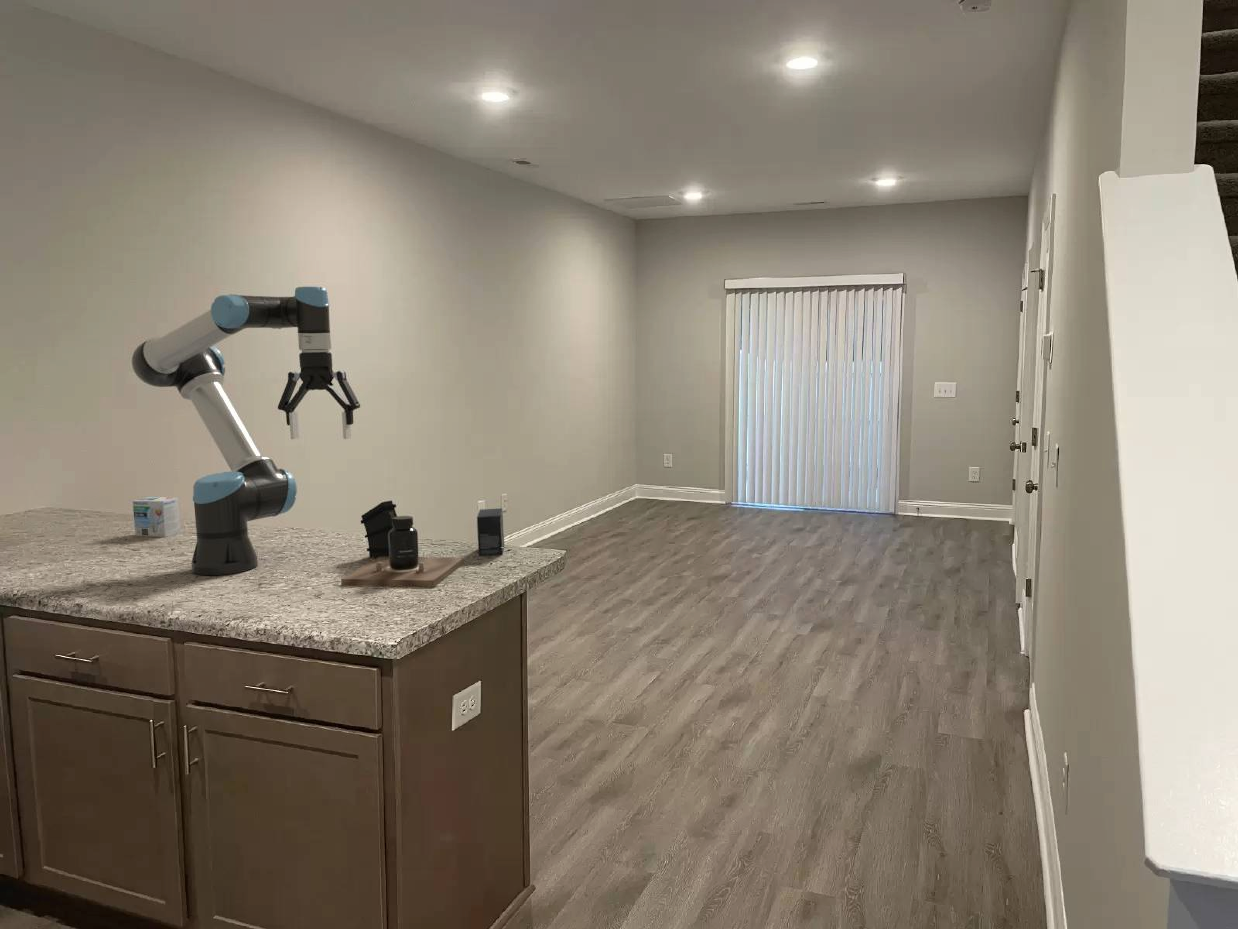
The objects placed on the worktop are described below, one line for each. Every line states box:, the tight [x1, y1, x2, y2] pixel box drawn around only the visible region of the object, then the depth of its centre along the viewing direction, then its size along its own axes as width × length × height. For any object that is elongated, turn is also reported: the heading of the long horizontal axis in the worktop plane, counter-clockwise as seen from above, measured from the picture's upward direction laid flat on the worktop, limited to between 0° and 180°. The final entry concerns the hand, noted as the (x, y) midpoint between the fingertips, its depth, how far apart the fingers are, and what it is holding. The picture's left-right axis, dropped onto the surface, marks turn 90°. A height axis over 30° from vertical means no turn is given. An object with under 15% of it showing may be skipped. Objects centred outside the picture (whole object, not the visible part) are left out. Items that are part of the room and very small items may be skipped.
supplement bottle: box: [388, 515, 420, 570], centre depth 219 cm, size 7×7×12 cm
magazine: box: [360, 500, 398, 559], centre depth 237 cm, size 4×13×15 cm, turn 50°
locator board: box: [340, 556, 465, 588], centre depth 220 cm, size 22×22×4 cm
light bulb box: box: [132, 496, 181, 538], centre depth 274 cm, size 11×7×11 cm, turn 77°
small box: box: [476, 507, 505, 557], centre depth 242 cm, size 11×6×10 cm, turn 5°
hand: (321, 438), depth 227 cm, fingers open, 13 cm apart
